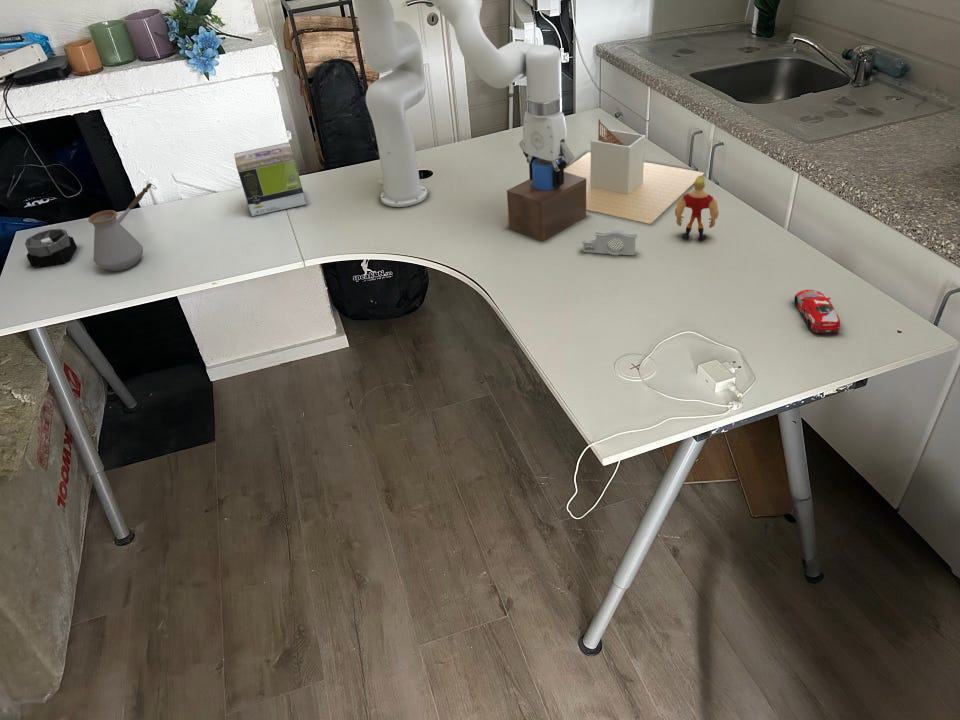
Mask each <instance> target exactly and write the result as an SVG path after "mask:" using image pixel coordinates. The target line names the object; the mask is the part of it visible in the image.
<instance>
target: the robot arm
mask: <svg viewBox="0 0 960 720" xmlns="http://www.w3.org/2000/svg"><path fill="white" fill-rule="evenodd" d="M429 1H430V3H432V5H433V6H434V7H435V8H436V9H437V10H438V11H439V12H440V14H441V15H442V16H443V17H444V18H445V19H446V21H447V22H448V23H449V24H450V25H451V26H452V28H453V30H454V34H455V39H456V43H457V45H458V47H459V50H460V52H461V55H462V57H463V59H464V60H465V62H466V63H467V64H468V66H469V67H470V68H471V69H472V70H473V71H474V72H475V74H476V75H477V76H478V77H479V78H480V79H481V80H482V81H483V82H484V83H486V84H487V85H489V86H490V87H492V88H493V89H505V88H508V87H510V86H511V85H512V84H514V83H516V82H517V81H519V80H521V79H523V78H525V79H526V97H525V100H524V101H525V103H527V109H526V110H525V112H524V116H523V124H522V139H521V140H520V142H519V143H518V146H519V147H520V149H521V150H522V153H523V155H524V157H525V158H526V163H527V164H528V169H529V171H528V172H529V179H530V180H533V176H532V161H533V160H534V159H536V158H540V159H544V160H547V161H552V163H553V166H554V169H555V171H553V187H555V188H556V187H558V186H560V185H562V184H564V169H566V168H567V167H568V166H569V165H570V163H571V162H572V161H573V160H574V159H575V155H574V154H573V152H572V151H571V150H570V148H569V147H568V137H567V136H568V135H567V124H566V120H565V114H564V112H563V110H562V109H563V105H562V102H563V101H562V55H561V50H560V48H558V47H557V46H556V45H551V44H539V45H538V44H534V43H530V42H527V41H523V40H513V41H511V42H509V43H507V44H505V45H503V46H501V47H500V48H497V47H496V45H494V44H493V43H492V42H491V40H490V39H489V38H488V37H487V35H486V34H485V32H484V30H483V27H482V25H481V21H480V13H481V9H482V7H483V0H429ZM353 4H354V7H355V12H356V16H357V24H358V29H359V35H360V42H361V46H362V53H363V57H364V61H365V63H366V65H367V67H368V68H369V69H370V71H372V72H374V73H376V74H384V73H387V72H389V71H391V72H389V73H387V74H385V75H383V76H381V77H379V78H377V79H376V80H374V81H373V82H371V84H370V85H369V87H368V88H367V90H366V93H365V104H366V108H367V110H368V113H369V116H370V119H371V122H372V125H373V129H374V134H375V140H376V145H377V150H378V157H379V162H380V167H381V173H382V178H381V179H379V180H378V184H379V185H381V186H382V187H383V191H382V192H381V194H380V201H381V203H382V204H383V205H385V206H388V207H392V208H393V207H394V208H407V207H411V206H415V205H418V204H420V203H422V202H423V201H424V200H425V199H426V198H428V190H427V188H426V187H425V186H423V185H421V179H420V173H419V165H418V160H417V158H418V157H417V151H416V145H415V144H416V143H415V137H414V132H413V128H412V125H411V123H410V121H409V120H408V118H407V116H406V113H405V112H407V111H408V110H409V109H411V108H413V107H414V106H416V105H417V104H419V103H420V102H421V101H423V99H424V97H425V95H426V89H427V83H426V73H425V65H424V58H423V57H424V56H423V50H422V45H421V40H420V37H419V35H418V33H417V31H416V30H415V28H414V27H413V26H412V25H411V24H410V23H408V22H406V21H403V20H396V21H395V14H394V12H395V11H394V8H393V5H392V3H391V0H353ZM557 159H559V162H560V164H558V162H557Z"/></svg>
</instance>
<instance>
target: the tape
mask: <svg viewBox="0 0 960 720" xmlns="http://www.w3.org/2000/svg"><path fill="white" fill-rule="evenodd" d="M557 162H558V164H560V162H559V159H557ZM553 171H555V169H554V166H553V163H552V161H547V160H544V159H540V158H536V159H534V160H533V161H532V176H533V186H534V187H535V188H536V189H539V190H552V189H555V187H553ZM558 187H559V186H558ZM556 188H557V187H556Z"/></svg>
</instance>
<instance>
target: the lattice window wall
mask: <svg viewBox="0 0 960 720" xmlns="http://www.w3.org/2000/svg"><path fill="white" fill-rule="evenodd" d="M594 236H595V238H594V239H592V238H591V239H589V238H588V239H586V238H583V239H582V240H581V241H582V242H581V243H582V252H583V253H587V254H588V253H590V254H604V255H605V254H606V255H611V256H619V255H620V256H621V255H622V256H635V255H636V241H637V240H636V239H637V238H638V233H637V232H634V233H629V232H626V231H624V230H621V229H619V228H618V229H610V230H606V231H597V230H595V231H594Z"/></svg>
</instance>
